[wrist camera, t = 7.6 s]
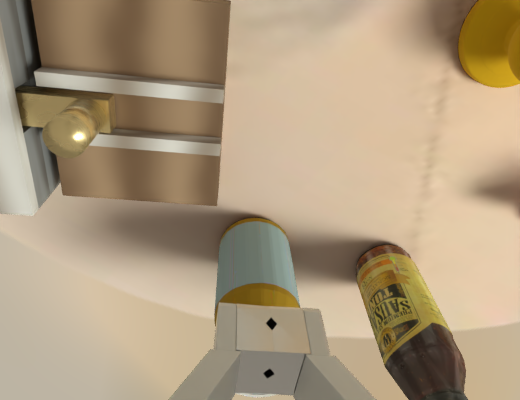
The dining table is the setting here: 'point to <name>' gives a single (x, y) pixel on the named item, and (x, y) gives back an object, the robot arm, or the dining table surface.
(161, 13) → the door latch block
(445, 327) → the sauce bottle
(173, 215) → the dining table surface
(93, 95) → the bolt
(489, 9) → the doorknob
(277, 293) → the bottle
